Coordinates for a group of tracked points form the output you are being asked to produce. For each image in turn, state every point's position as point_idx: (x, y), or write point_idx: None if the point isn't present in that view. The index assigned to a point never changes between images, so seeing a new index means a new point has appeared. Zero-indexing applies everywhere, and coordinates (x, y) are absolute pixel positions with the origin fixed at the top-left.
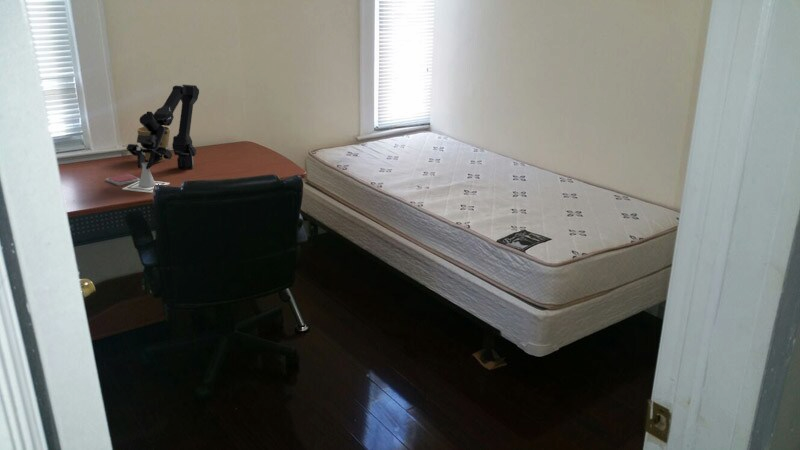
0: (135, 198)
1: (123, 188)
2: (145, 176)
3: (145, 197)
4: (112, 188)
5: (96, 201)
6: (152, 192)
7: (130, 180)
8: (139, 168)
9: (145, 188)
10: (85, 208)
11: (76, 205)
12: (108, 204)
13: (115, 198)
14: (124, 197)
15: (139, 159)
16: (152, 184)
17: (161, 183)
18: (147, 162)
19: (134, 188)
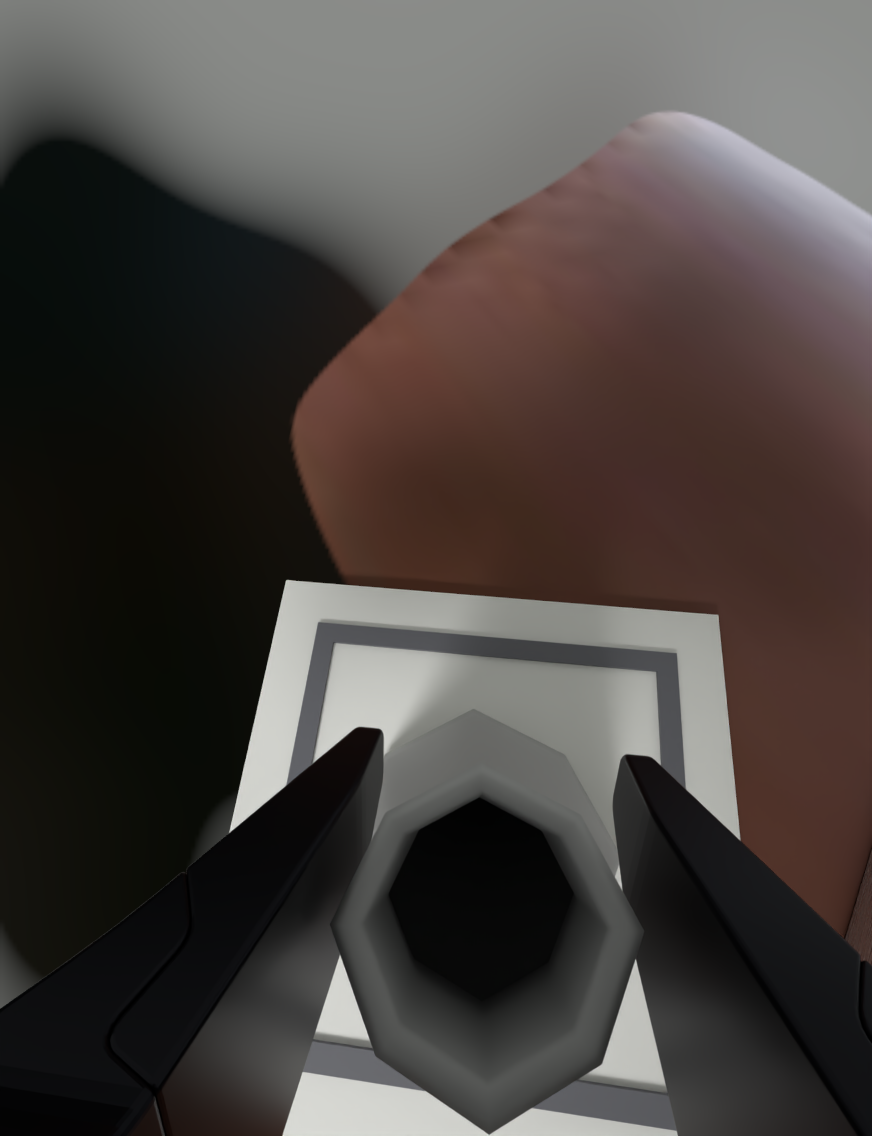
0: (382, 395)
1: (703, 623)
2: (445, 769)
3: (297, 441)
4: (864, 631)
5: (676, 258)
6: (286, 600)
7: None
8: (613, 797)
9: (427, 698)
10: (635, 138)
11: (753, 164)
12: (526, 229)
13: (569, 352)
14: (504, 394)
15: (783, 974)
16: None
17: None
18: (444, 1060)
19: (558, 644)
